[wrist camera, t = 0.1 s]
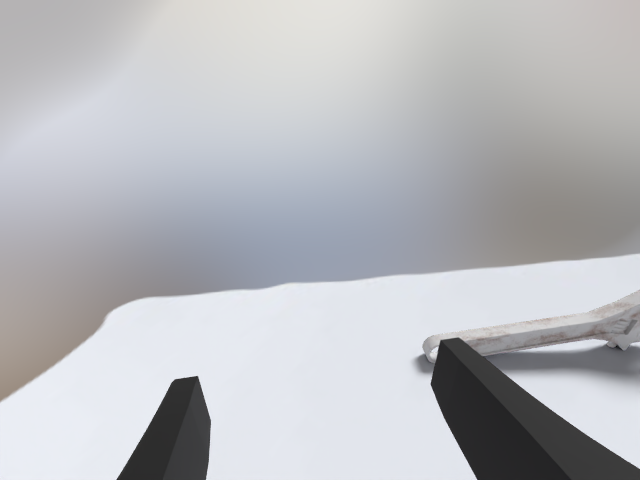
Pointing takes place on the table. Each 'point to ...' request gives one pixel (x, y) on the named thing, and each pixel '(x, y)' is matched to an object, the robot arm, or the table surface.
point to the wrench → (554, 330)
